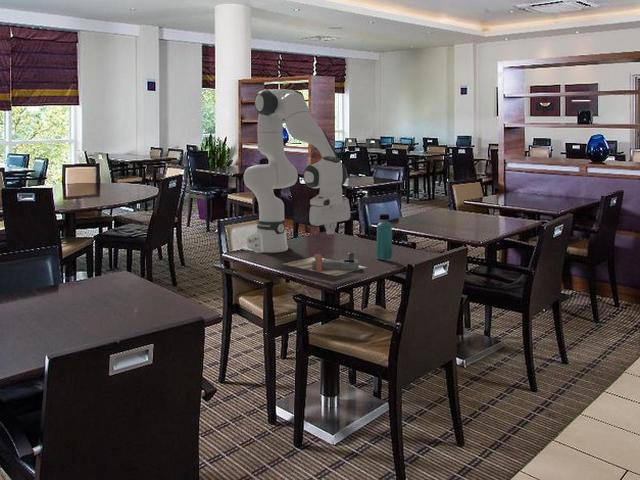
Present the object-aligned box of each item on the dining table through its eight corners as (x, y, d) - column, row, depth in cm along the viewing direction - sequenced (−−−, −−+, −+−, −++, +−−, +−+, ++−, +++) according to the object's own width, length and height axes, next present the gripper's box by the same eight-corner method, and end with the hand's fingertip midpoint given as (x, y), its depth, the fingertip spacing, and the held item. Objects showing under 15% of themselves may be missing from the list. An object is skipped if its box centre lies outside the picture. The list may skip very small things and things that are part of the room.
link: (312, 271, 251) (312, 263, 251) (312, 267, 258) (312, 259, 257) (358, 270, 252) (358, 262, 251) (357, 266, 258) (357, 259, 258)
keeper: (314, 267, 258) (314, 254, 257) (320, 266, 258) (320, 254, 257) (316, 271, 251) (316, 258, 250) (322, 271, 251) (322, 258, 250)
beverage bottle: (391, 263, 267) (392, 215, 264) (375, 263, 269) (375, 215, 265) (392, 260, 274) (393, 213, 270) (377, 259, 275) (377, 212, 271)
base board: (282, 266, 263) (282, 264, 263) (314, 258, 277) (314, 256, 277) (335, 278, 244) (335, 275, 244) (367, 269, 257) (367, 267, 257)
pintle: (347, 268, 256) (347, 253, 255) (350, 267, 257) (350, 252, 256) (351, 268, 255) (351, 253, 253) (354, 267, 256) (354, 253, 255)
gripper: (342, 195, 262) (341, 229, 265) (306, 200, 248) (306, 236, 251) (354, 197, 258) (353, 231, 261) (318, 202, 243) (318, 238, 246)
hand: (330, 233), depth 256 cm, fingers closed
